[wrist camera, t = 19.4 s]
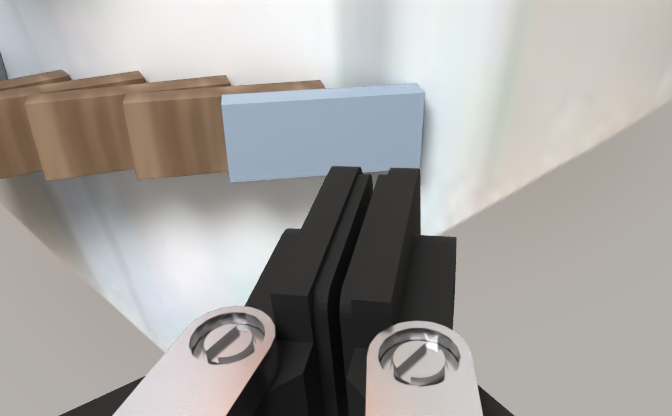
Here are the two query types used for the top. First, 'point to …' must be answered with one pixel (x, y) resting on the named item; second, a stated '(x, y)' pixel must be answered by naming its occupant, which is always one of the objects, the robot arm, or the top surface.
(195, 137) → the domino
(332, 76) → the top surface
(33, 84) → the domino
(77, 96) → the domino
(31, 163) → the domino
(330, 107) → the domino
